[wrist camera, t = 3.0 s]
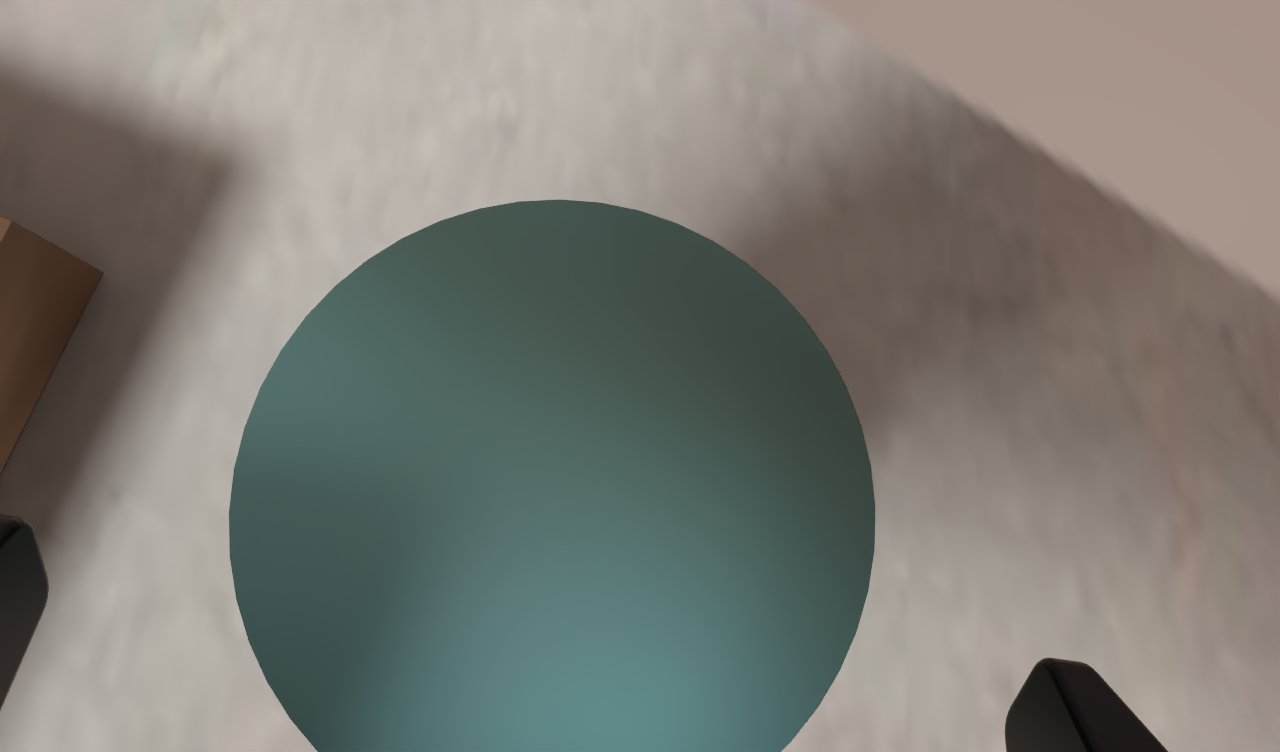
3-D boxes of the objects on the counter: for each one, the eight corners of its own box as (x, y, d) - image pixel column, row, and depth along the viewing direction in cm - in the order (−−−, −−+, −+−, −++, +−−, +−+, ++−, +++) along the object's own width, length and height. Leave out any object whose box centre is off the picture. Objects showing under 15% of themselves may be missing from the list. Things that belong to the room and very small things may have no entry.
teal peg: (642, 717, 18) (742, 953, 8) (367, 605, 18) (112, 699, 8) (748, 443, 18) (959, 339, 9) (485, 336, 18) (393, 106, 8)
